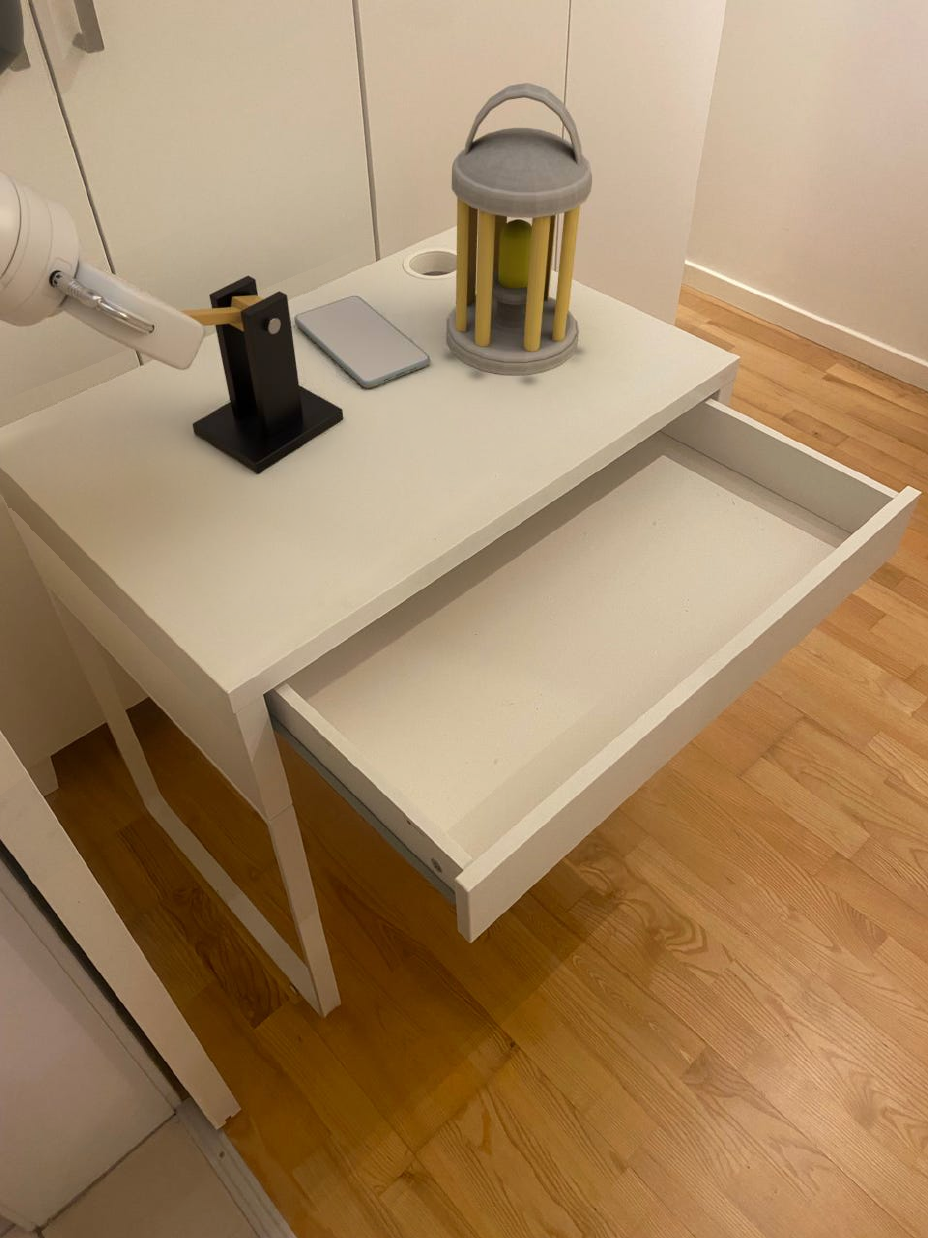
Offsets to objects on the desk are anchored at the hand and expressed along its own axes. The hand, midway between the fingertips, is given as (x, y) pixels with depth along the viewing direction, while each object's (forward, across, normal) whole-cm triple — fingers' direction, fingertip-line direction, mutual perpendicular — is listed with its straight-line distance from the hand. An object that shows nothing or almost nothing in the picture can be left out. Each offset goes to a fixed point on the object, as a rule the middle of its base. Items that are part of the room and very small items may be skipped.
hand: (162, 325), depth 76 cm
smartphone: (+28, +3, -7) cm, 29 cm away
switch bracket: (+17, 0, +4) cm, 17 cm away
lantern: (+36, -8, -15) cm, 40 cm away
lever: (+4, 0, -1) cm, 5 cm away
